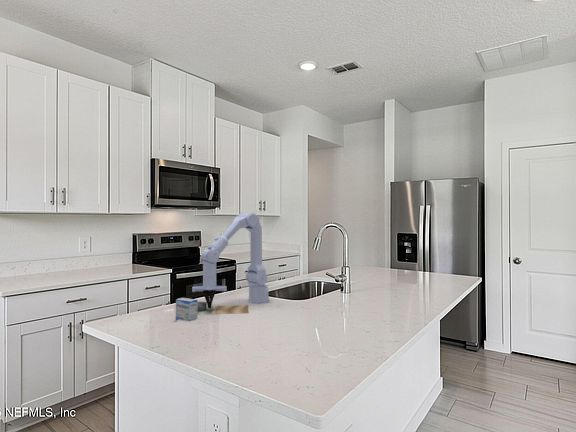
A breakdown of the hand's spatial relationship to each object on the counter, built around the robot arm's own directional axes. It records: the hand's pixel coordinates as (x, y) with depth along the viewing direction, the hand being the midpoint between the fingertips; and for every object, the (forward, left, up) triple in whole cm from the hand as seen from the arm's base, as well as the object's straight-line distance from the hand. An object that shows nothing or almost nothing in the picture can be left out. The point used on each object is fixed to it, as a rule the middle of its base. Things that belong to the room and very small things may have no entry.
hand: (209, 307), depth 165 cm
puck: (+4, 0, -1) cm, 4 cm away
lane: (-3, 0, -2) cm, 4 cm away
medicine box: (+8, +12, -2) cm, 15 cm away
